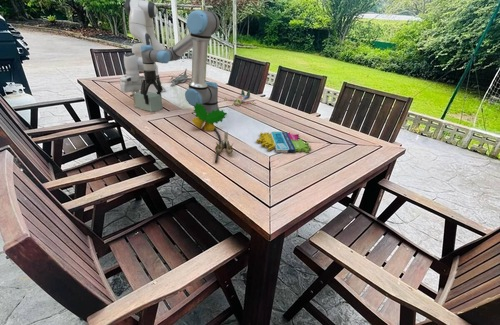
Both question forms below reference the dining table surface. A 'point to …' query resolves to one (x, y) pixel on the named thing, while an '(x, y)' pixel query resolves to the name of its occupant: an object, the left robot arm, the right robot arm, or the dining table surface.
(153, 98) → the grey-green rectangular block
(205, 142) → the dining table surface
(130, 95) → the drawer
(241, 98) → the toy
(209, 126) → the ornament
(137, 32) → the left robot arm
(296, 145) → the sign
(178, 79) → the airplane
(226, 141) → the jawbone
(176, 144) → the dining table surface
